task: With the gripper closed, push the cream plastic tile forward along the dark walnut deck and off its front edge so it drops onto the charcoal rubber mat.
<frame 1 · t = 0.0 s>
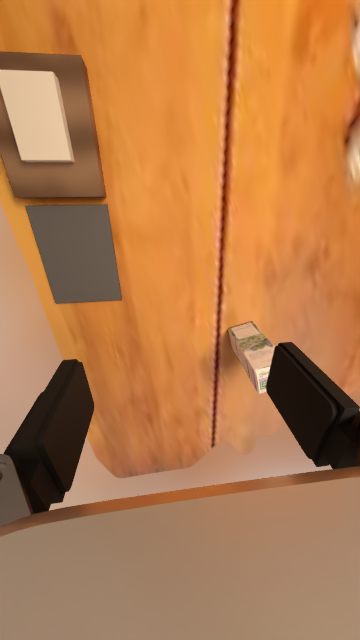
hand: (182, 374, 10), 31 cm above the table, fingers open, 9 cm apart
tile: (42, 123, 27), point 2 cm above the table, touching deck
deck: (52, 139, 29), on the table
mat: (79, 257, 37), on the table
syrup box: (241, 333, 48), on the table
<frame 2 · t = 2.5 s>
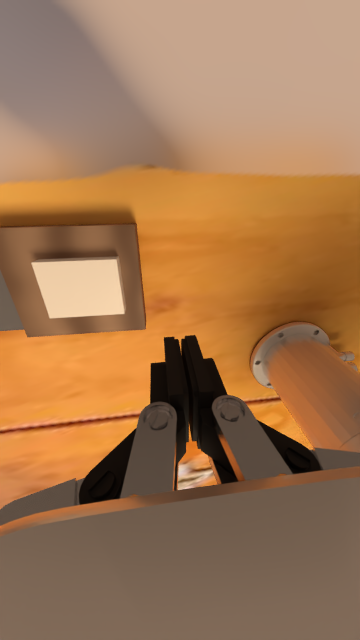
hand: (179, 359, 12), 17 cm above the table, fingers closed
tile: (85, 285, 23), point 2 cm above the table, touching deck
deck: (82, 279, 26), on the table
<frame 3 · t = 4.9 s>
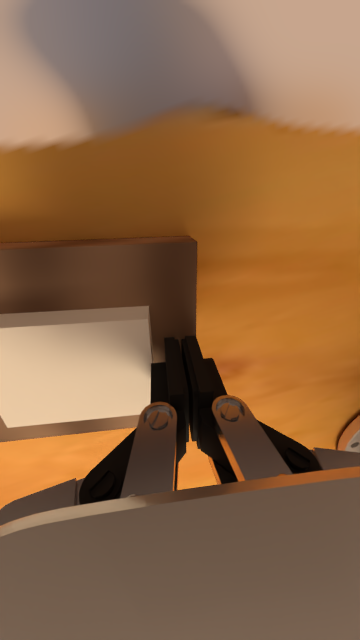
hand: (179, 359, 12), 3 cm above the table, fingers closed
tile: (80, 359, 12), point 3 cm above the table, touching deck, gripper
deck: (83, 337, 14), on the table
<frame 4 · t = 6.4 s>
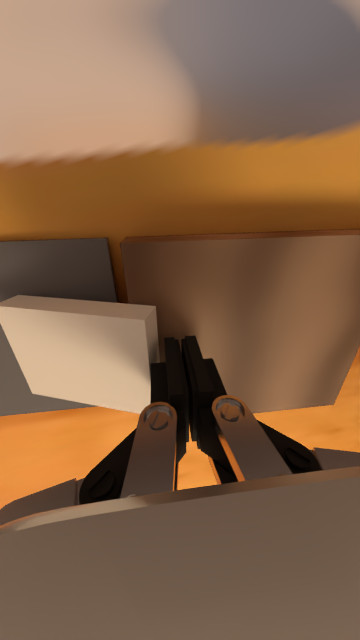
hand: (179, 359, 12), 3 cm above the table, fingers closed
tile: (93, 347, 12), point 2 cm above the table, tilted 19°, touching gripper, mat
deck: (240, 325, 15), on the table
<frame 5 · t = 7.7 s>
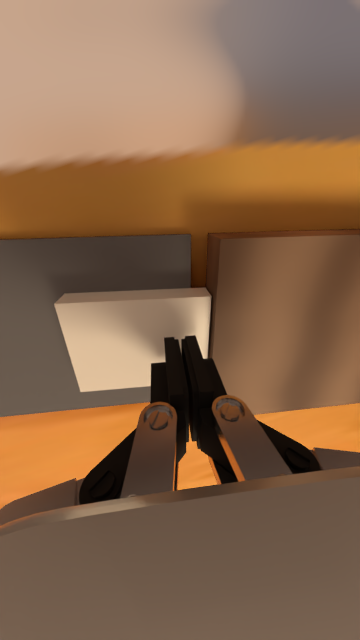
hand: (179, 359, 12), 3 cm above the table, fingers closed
tile: (141, 334, 14), resting on mat
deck: (301, 321, 15), on the table
mat: (65, 338, 14), on the table
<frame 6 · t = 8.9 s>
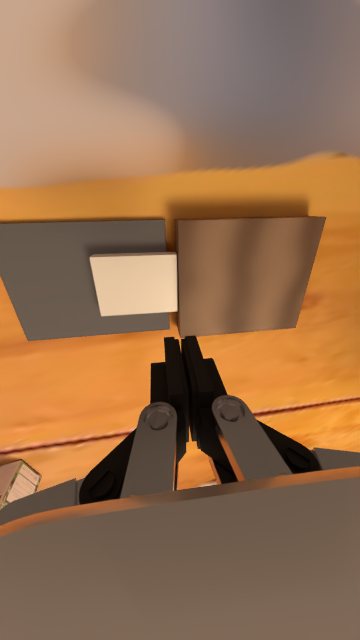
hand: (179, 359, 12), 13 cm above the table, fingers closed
tile: (137, 282, 23), resting on mat
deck: (237, 276, 24), on the table
mat: (91, 284, 22), on the table
syrup box: (17, 471, 35), on the table
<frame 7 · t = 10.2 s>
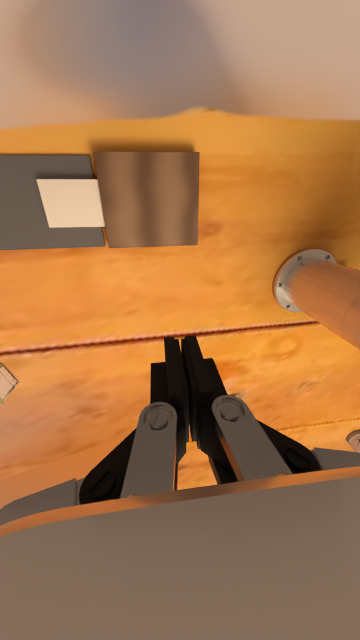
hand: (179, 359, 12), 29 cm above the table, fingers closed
tile: (75, 204, 32), resting on mat
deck: (151, 203, 33), on the table
mat: (43, 205, 32), on the table
travel mug: (354, 435, 71), on the table
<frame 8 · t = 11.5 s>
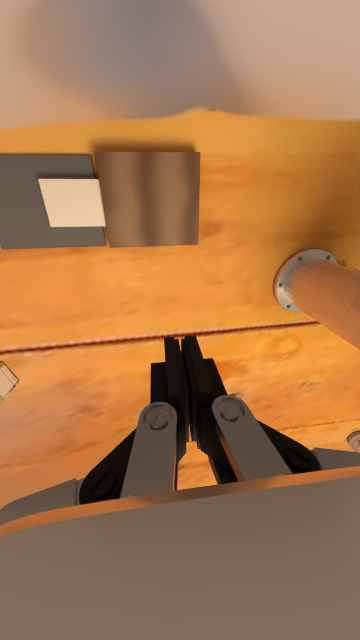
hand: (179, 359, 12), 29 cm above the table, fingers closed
tile: (77, 204, 32), resting on mat
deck: (152, 203, 33), on the table
mat: (44, 205, 32), on the table
syrup box: (0, 374, 45), on the table
travel mug: (354, 436, 71), on the table
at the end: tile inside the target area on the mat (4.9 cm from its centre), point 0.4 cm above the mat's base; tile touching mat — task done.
